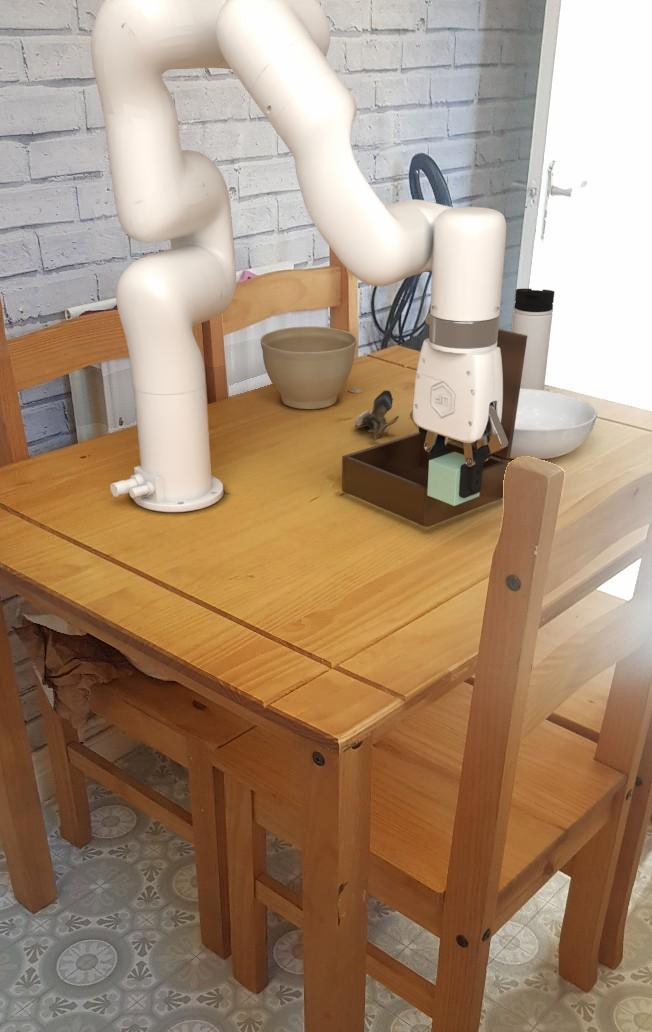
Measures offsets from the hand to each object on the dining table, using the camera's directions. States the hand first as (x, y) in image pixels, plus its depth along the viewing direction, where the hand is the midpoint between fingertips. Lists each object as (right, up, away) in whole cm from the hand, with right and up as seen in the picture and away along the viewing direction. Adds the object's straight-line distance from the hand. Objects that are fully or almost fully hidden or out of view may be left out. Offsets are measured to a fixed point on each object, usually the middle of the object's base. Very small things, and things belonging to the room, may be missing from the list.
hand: (453, 486), depth 123 cm
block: (0, -1, +1) cm, 1 cm away
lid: (+4, +17, +17) cm, 25 cm away
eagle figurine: (-7, +16, +43) cm, 46 cm away
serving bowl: (+15, +12, +37) cm, 41 cm away
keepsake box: (-2, +2, +21) cm, 21 cm away
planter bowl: (-18, +25, +57) cm, 65 cm away
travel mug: (+18, +23, +54) cm, 61 cm away
